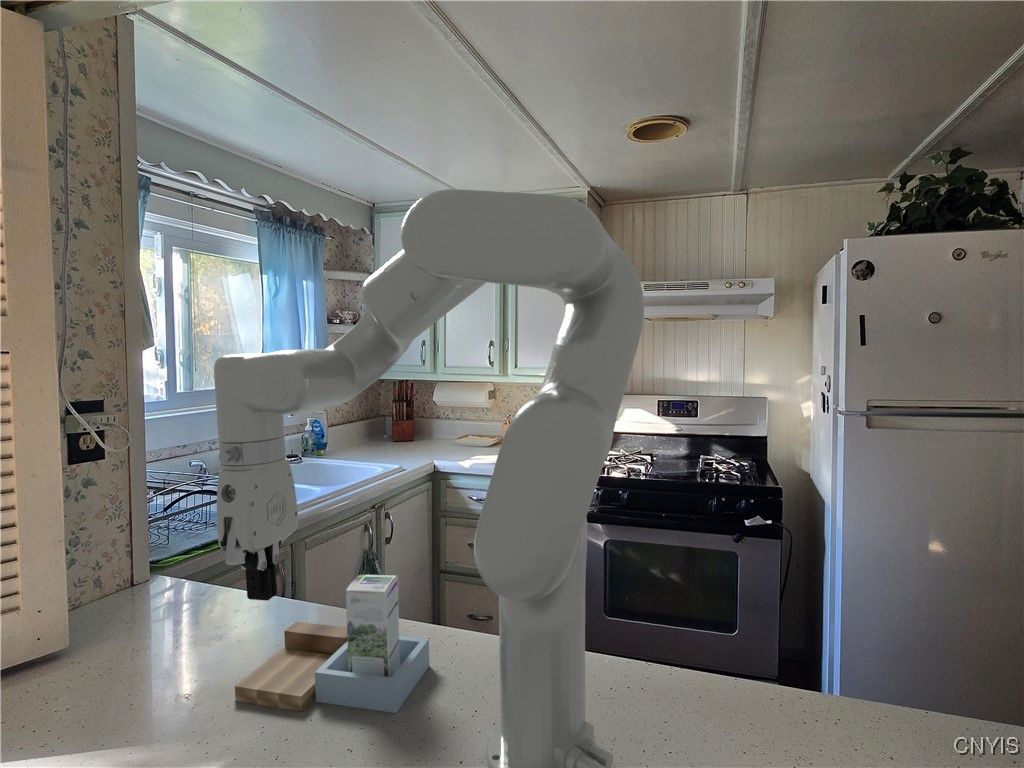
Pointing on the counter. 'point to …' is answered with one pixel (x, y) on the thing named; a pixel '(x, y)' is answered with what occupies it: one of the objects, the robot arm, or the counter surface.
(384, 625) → the syrup box
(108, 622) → the counter surface
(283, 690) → the board
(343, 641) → the block
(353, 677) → the square frame
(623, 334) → the robot arm
